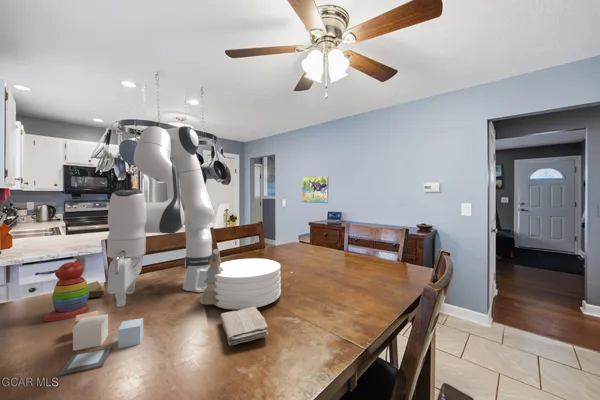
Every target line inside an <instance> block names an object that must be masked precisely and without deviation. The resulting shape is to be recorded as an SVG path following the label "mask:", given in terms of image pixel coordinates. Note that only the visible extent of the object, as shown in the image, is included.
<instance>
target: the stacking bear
mask: <svg viewBox="0 0 600 400" xmlns="http://www.w3.org/2000/svg"><path fill="white" fill-rule="evenodd" d="M83 273H84V266H83V264H81V262H79V261H78V260H74V261H71V262H70V261H69V262H65V263H63V264H61V265H60V267H59V268H58V269H57V270H56V271H55V272H54V275H55V277H56V278H57V279H58V281H57V282H56V283H55V286H54V289H53V293H52V297H51V301H52V304H53V308H54V310H53V311H50V312H49V313H46V315H44V316H43V320H44V322H55V321H62V320H68V319H72V318H76V315H80V314H85V313H88V311H89V306H88V304H87V303H88V299H89V297H88V296H89V288H88V285H87V284H88V282H87V280H86V279H85V277H83V276H82V275H83Z"/></svg>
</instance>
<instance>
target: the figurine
mask: <svg viewBox="0 0 600 400" xmlns="http://www.w3.org/2000/svg"><path fill="white" fill-rule="evenodd" d="M220 253H221V252H220V250H219V249H217V248H215V249H212V257H211V259H210V261H209V262H210V267H209V268H208V271H207V278H206V283H207V288H205V290H204V292H202V296H200V298H199V299H200V301H199V303H200V304H201V305H214V304H215V303H216V302H219V300H217V299H215V295H218V294H217V292H215V291H214V288H216V285H215V281H217V279H216V278H215V274H222V273H221V272H222V271H223V269H222V268H221V267H220V264H221V263H222V260H221V256H220V255H221V254H220Z"/></svg>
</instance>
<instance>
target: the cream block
mask: <svg viewBox="0 0 600 400" xmlns="http://www.w3.org/2000/svg"><path fill="white" fill-rule="evenodd" d="M108 315H109V314H107V313H106V314H102V315H98V316H94V317H87V318H82V319H81V320H80V321H79V322H78V323H77V324H76V325H74V326H73V327H72V351H79V350H80V351H81V350H85V349H89V348H96V347H100V346H102V345H103V344H104V342H105V340H106V339H107V337H108V335H109V316H108Z"/></svg>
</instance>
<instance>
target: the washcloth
mask: <svg viewBox="0 0 600 400" xmlns="http://www.w3.org/2000/svg"><path fill="white" fill-rule="evenodd" d="M219 318H220V322H221V324H222V327H223V330H224V332H225V335H226V339H227V342H228V345H229V346H235V345H238V344H241V343H247V342H251V341H253V340H257V339H261V338H265V337H267V336H268V335H269V332H268V330H267V328H268V324H267V322H266V319H265V317H264V316H263V315H262V314H261V312H260V311H259V310H258V307H249V308H245V309H237V310H232V311H226V312H222V313H221V314H220V317H219Z"/></svg>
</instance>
